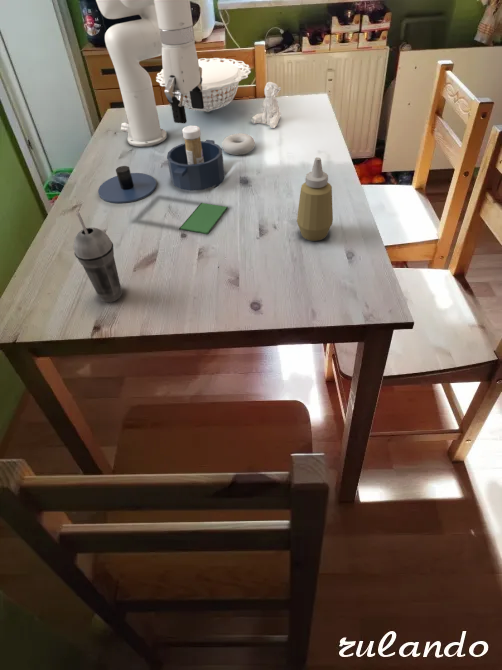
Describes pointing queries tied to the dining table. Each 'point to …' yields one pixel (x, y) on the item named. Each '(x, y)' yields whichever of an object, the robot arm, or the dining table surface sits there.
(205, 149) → the pot
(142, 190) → the lid
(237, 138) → the donut
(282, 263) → the dining table surface
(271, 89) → the seated beast figurine
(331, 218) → the squeeze bottle
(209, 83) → the white wicker basket
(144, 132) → the robot arm
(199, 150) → the sprinkles bottle
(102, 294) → the beverage cup
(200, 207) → the green flat rectangular board
